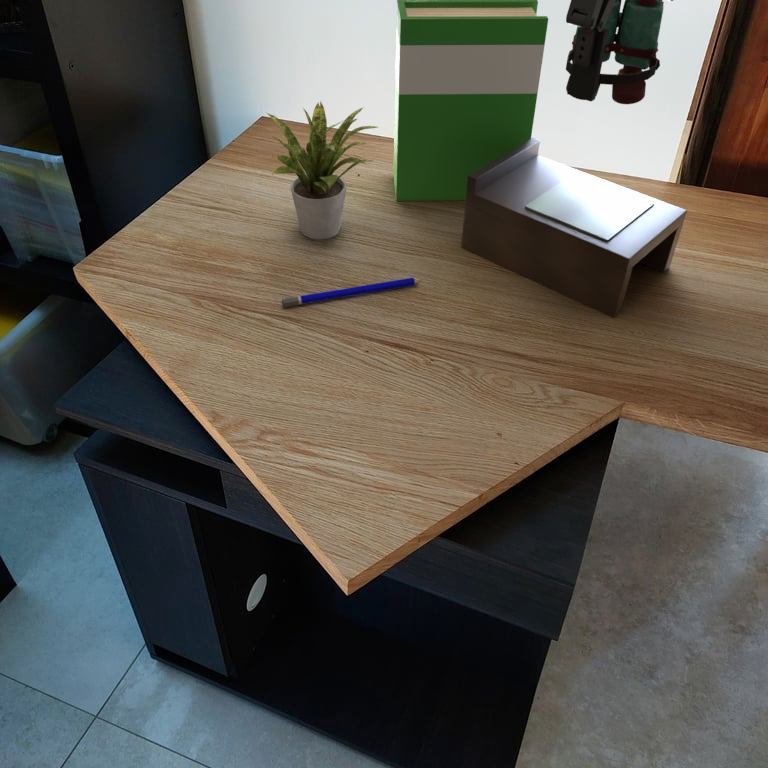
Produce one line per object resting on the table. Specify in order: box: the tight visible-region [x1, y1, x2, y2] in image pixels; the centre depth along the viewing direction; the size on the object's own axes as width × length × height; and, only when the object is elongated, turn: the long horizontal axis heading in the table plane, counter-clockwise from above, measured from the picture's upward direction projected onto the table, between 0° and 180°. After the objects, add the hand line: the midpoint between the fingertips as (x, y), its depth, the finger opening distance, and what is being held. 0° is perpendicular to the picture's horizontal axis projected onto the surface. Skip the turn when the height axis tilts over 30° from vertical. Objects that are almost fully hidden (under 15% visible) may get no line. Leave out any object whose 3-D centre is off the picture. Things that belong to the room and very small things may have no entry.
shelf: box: [460, 137, 688, 319], centre depth 95 cm, size 22×14×10 cm, turn 48°
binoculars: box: [565, 0, 664, 105], centre depth 77 cm, size 9×11×10 cm
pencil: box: [281, 277, 422, 308], centre depth 91 cm, size 17×1×1 cm, turn 107°
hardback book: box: [392, 0, 549, 202], centre depth 103 cm, size 18×7×24 cm, turn 93°
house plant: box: [266, 101, 378, 240], centre depth 96 cm, size 14×14×16 cm
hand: (608, 80), depth 79 cm, fingers closed on binoculars, 10 cm apart
